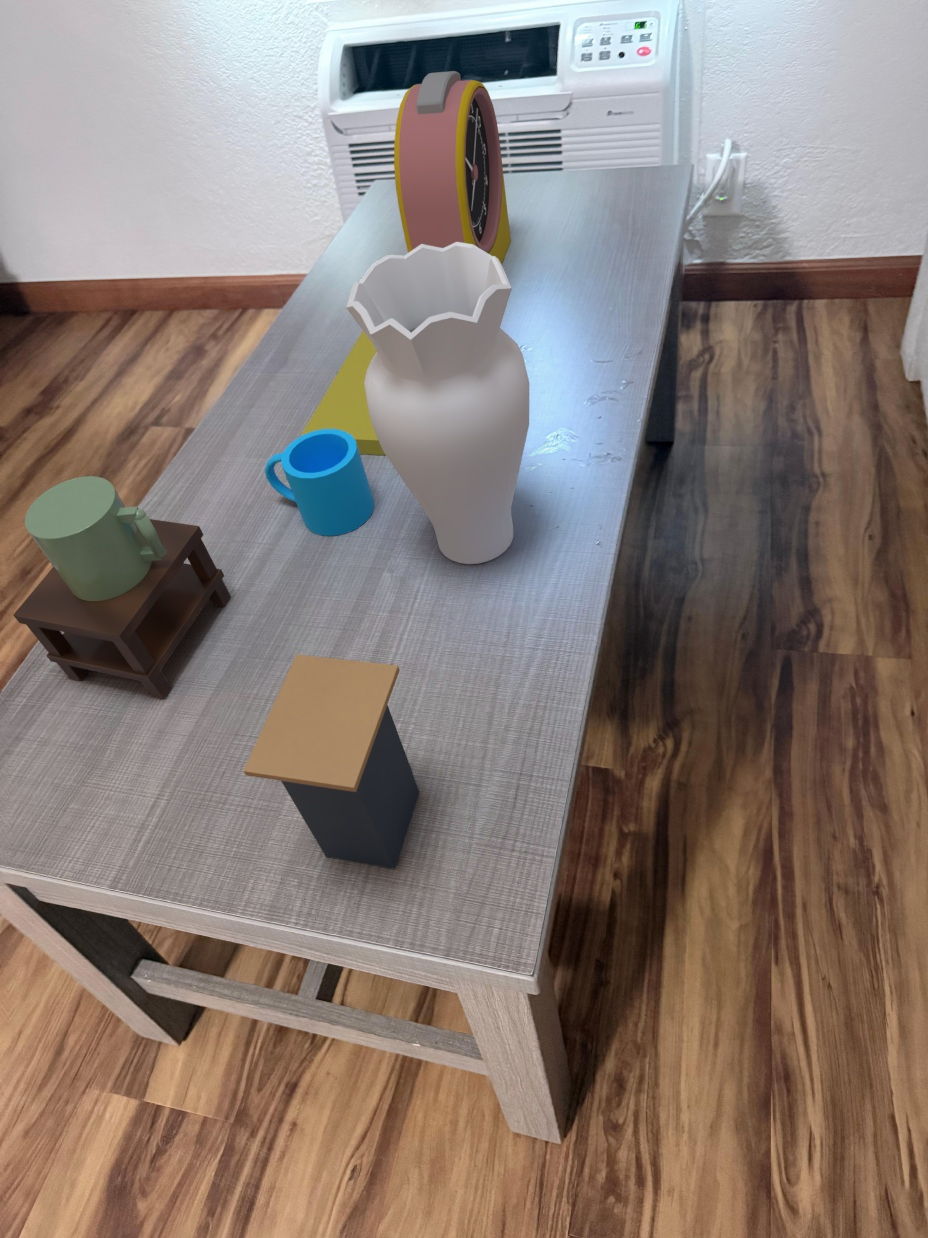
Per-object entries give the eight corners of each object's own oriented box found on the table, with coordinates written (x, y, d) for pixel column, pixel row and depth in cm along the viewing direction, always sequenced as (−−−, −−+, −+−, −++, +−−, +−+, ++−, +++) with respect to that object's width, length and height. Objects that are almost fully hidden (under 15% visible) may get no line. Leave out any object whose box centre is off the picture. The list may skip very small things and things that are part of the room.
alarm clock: (481, 314, 121) (451, 107, 102) (418, 315, 124) (377, 112, 104) (511, 239, 134) (489, 42, 115) (454, 240, 137) (423, 48, 117)
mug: (385, 491, 100) (369, 432, 94) (355, 540, 95) (336, 482, 89) (294, 478, 104) (272, 421, 98) (261, 525, 99) (236, 469, 93)
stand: (402, 889, 68) (354, 787, 57) (307, 872, 70) (242, 771, 59) (435, 777, 74) (398, 665, 63) (347, 765, 77) (296, 654, 65)
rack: (165, 702, 84) (119, 635, 77) (65, 680, 88) (12, 614, 81) (234, 595, 92) (199, 525, 85) (140, 579, 96) (99, 511, 89)
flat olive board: (398, 456, 104) (453, 340, 118) (394, 441, 102) (451, 326, 117) (305, 450, 107) (369, 339, 122) (300, 436, 105) (366, 325, 120)
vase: (422, 490, 99) (361, 238, 77) (553, 491, 96) (527, 228, 74) (393, 587, 90) (314, 332, 68) (536, 591, 86) (501, 324, 65)
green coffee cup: (57, 604, 81) (10, 542, 75) (84, 543, 86) (43, 480, 80) (162, 596, 79) (123, 531, 73) (183, 534, 84) (149, 469, 79)
